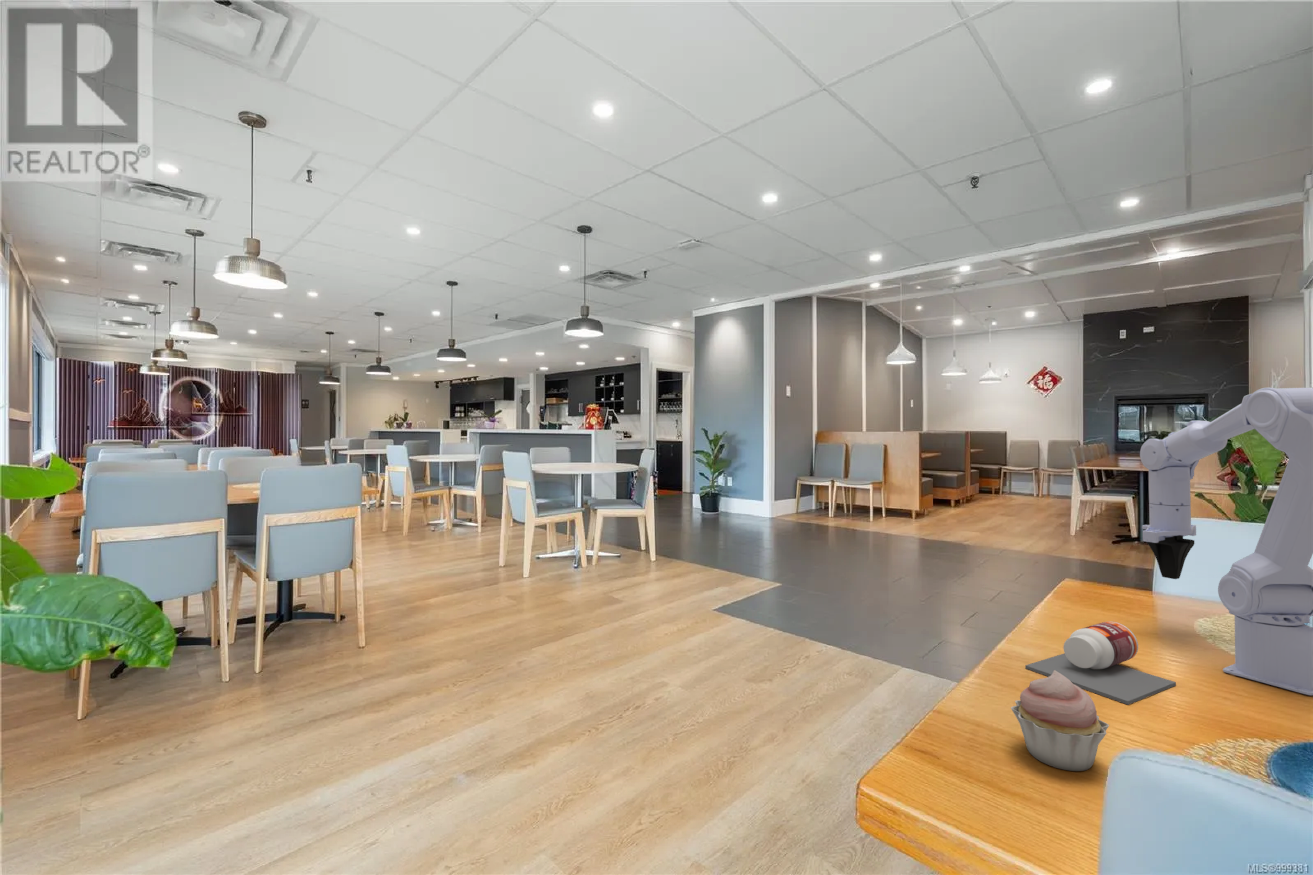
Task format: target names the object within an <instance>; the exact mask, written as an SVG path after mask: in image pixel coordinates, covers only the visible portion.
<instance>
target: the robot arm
mask: <svg viewBox="0 0 1313 875" xmlns="http://www.w3.org/2000/svg"><path fill="white" fill-rule="evenodd" d="M1252 430H1255V431H1256V432H1257V433H1259V435H1261V436H1262V437H1263V438H1264V439H1265V440H1266V441H1267V442H1268V443H1269V444H1271V446H1273V447H1274V448H1275V449H1276V450H1278V451H1281V452H1284V453H1285V455H1286V456H1287V457H1288V462H1287V464H1286V467H1285V470H1284V472H1283V475H1282V478H1281V480H1280V482H1279V485H1278V487H1277V491H1276V493H1275V496H1274V498H1273V501H1272V503H1271V506H1270V509H1269V512H1268V513H1267V514H1268V515H1267V517H1266V520H1265V523H1264V525H1263V528H1262V530H1261V533H1260V536H1259V538H1258V541H1257V544H1256V546H1255V549H1254V552H1252V553H1251V554H1249V555H1247V556H1245V557H1241V559H1240V558H1239V560H1237V561H1234V562H1233V563H1232V564H1231V567H1230V569H1229V571H1228V572H1227V573H1226V574H1224V575H1223V576H1222V577H1221V579H1220V580H1219V582H1218V586H1217V593H1218V597H1219V600H1220V602H1221V603H1222V604H1223V606H1224V607H1225V608H1226V609H1227V611H1228V614H1230V615H1233V616H1234V663H1233V664H1230V665H1228V666H1225V667H1223V668H1222V671H1223V672H1224V673H1227V674H1230V675H1233V676H1237V677H1241V678H1245V679H1248V680H1251V681H1254V682H1255V681H1256V682H1259V683H1263V684H1267V685H1271V686H1274V687H1278V688H1281V689H1284V690H1288V691H1292V692H1296V693H1300V694H1303V695H1307V696H1313V627H1312V626H1310V625H1307V624H1310V617H1313V568H1312V567H1310V566H1309V565H1310V562H1311V559H1312V558H1313V387H1286V388H1285V387H1284V388H1283V387H1281V388H1278V387H1277V388H1276V387H1263V388H1262V387H1261V388H1260V389H1259V388H1258V389H1257V390H1255V391H1254V392H1252V393H1249V394H1247V395H1244V396H1243V398H1242V401H1241V403H1240V404H1238V405H1236V406H1235V407H1233V408H1232V409H1230V410H1228V411H1226V412H1225V413H1223V414H1222V415H1220V416H1218V417H1216V418H1215V419H1213V420H1211V421H1209V420H1200V419H1199V420H1190V421H1188V422H1187V423H1186V426H1185V427H1184V428H1181V429H1180V430H1178V431H1171V432H1170V433H1168V435H1167V436H1166V437H1164V438H1163V439H1159V438H1148V439H1147V440H1146V441H1145V442H1144V443H1142V445H1141V447H1140V452H1139V458H1140V461H1141V465H1142V466H1143V467H1144V468H1146V469H1147V470H1148V503H1149V504H1148V510H1149V511H1148V512H1149V513H1148V514H1149V516H1148V518H1149V522H1148V523H1149V524H1143V525H1141V529H1142V541H1143V542H1146V543H1147V545H1148V547H1149V548H1150V549H1151V551H1152V553H1153V555H1154V557H1155V559H1156V561H1157V565H1158V569H1159V571H1160V574H1161V577H1162V578H1166V579H1172V580H1179V579H1180V578H1181V574H1182V571H1183V568H1184V564H1185V562H1186V558H1187V556H1188V555H1189V552H1190V551H1191V550H1192V548H1193V547H1194V545H1195V539H1191V538H1190V539H1189V538H1184V537H1187V536H1192V537H1195V536H1197V525H1196V524H1192V513H1191V511H1192V510H1191V509H1192V508H1191V507H1192V505H1191V502H1192V501H1191V499H1192V498H1191V496H1192V495H1191V480H1193V479H1194V477H1195V469H1196V467H1197V466H1198V465H1199V462H1200V460H1202V459H1203V458H1206V457H1209V456H1211V455H1213V454H1216V453H1217V452H1220V451H1222V450H1223V449H1224V448H1226V447H1227V444H1228V440H1229V439H1232V438H1235V437H1237V436H1239V435H1242V434H1245V433H1247V432H1249V431H1250V432H1251V431H1252Z"/></svg>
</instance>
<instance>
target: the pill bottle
mask: <svg viewBox="0 0 1313 875" xmlns="http://www.w3.org/2000/svg"><path fill="white" fill-rule="evenodd" d="M1063 652H1064V653H1065V655H1066V657H1067V658H1068V660H1069V661H1070V662H1071V663H1073V664H1074V665H1076V666H1078V667H1080V668H1091V669H1097V670H1099V669H1104V668H1107V667H1110V666H1113V665H1116V664H1118V665H1120V664H1121V663H1123V662H1127V661H1130V660H1131V659H1133V658H1135V656H1136V655H1137V653H1138V652H1139V643H1138V639H1137V637H1136V635H1135V634H1134V632H1132V630H1131V629H1129V628H1128V627H1127V626H1125V625H1124V624H1121V623H1119V622H1116V621H1103V622H1099V623H1096V624H1092V625H1089V626H1086V627H1082V628H1079V629H1076V630H1074V631H1073V632H1072V633H1071V634H1070V636H1069V638H1067V639H1066V640H1065V641H1064V643H1063ZM1064 653H1063V654H1064Z"/></svg>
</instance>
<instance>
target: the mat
mask: <svg viewBox="0 0 1313 875" xmlns="http://www.w3.org/2000/svg"><path fill="white" fill-rule="evenodd" d="M1024 667H1025V669H1026V670H1028V671H1031V672H1035V673H1037V674H1040V675H1042V676H1046V677H1049V676H1051V675H1052V673H1053V671H1054V670H1055V671H1057V672H1059V673H1060V674H1062V675H1063V676H1065V677H1066V678H1068V679H1069V680H1070V681H1071V682H1072V683H1073V684H1074V685H1076V686H1078V687H1080V688H1081V689H1082V690H1084V691H1088V692H1091V693H1094V694H1097V695H1099V696H1102V697H1104V698H1108V699H1110V700H1113V701H1116V702H1119V703H1122V704H1125V705H1126V706H1127V705H1128V706H1129V705H1131V704H1134V703H1136V702H1139V701H1141V700H1144V699H1146V698H1148V697H1152V696H1154V695H1156V694H1158V693H1160V692H1163V691H1165V690H1168V689H1170V688H1173V687H1176V686H1177V683H1176V681H1174V680H1171V679H1167V678H1164V677H1160V676H1158V675H1153V674H1150V673H1148V672H1144V671H1140V670H1138V669H1134V668H1130V667H1127V666H1123V665H1121V664H1116V665H1113V666H1110V667H1107V668H1104V669H1099V670H1097V669H1091V668H1080V667H1078V666H1076V665H1074V664H1073V663H1071V662H1070V661H1069V660H1068V658H1067V657H1066V655H1065V653H1061V654H1058V655H1054V656H1052V657H1048V658H1045V659H1042V660H1039V661H1038V660H1037V661H1035V662H1032V663H1028V664H1025V666H1024Z"/></svg>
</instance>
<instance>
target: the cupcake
mask: <svg viewBox="0 0 1313 875" xmlns="http://www.w3.org/2000/svg"><path fill="white" fill-rule="evenodd" d="M1019 699H1020V700H1018V699H1017V700H1015V701H1014V702H1015V704H1016V705H1013V706H1011V707H1010V709H1011V711H1012V713H1013V714H1014V716H1015V718H1016V719H1017V721H1018V723H1019V726H1020V729H1021V732H1022V734H1023V739H1024V742H1025V747H1026V748H1027V751H1028V753H1029V754H1030V755H1031V756H1032V757H1034V758H1035V759H1036V760H1037V761H1040V762H1041V763H1043V764H1045V765H1049V766H1051V767H1053V768H1056V769H1060V770H1065V771H1071V772H1082V771H1087V770H1090V768H1092V766H1093V765H1094V763H1095V761H1096V760H1095V759H1096V757H1097V752H1098V750H1099V749H1098V748H1099V744H1100V743H1102V741H1103V739H1104V738H1105V737H1106V735H1107V729H1109V726H1110V724H1109V723H1107V722H1105V721H1103V720H1100V716H1099V715H1098V713H1097V709H1096V704H1095V702H1094V700H1093V699H1092V697H1091V696H1090V695H1089V694H1088V692H1087V691H1086V690H1085V689H1082V688H1080V687H1078V686H1076V685H1074V684H1073V683H1072V682H1071V681H1070V680H1069V679H1068V678H1066V677H1065V676H1063V675H1062V674H1060V673H1059V672H1057V671H1055V670H1054V671H1053V673H1052V675H1051V676H1049V677H1048V676H1046V677H1044V678H1038V679H1034V680H1032V681H1030V682H1029V685H1028V686H1027V687H1026V688H1024V689H1023V690H1022V691H1021V693H1020V696H1019Z"/></svg>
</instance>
